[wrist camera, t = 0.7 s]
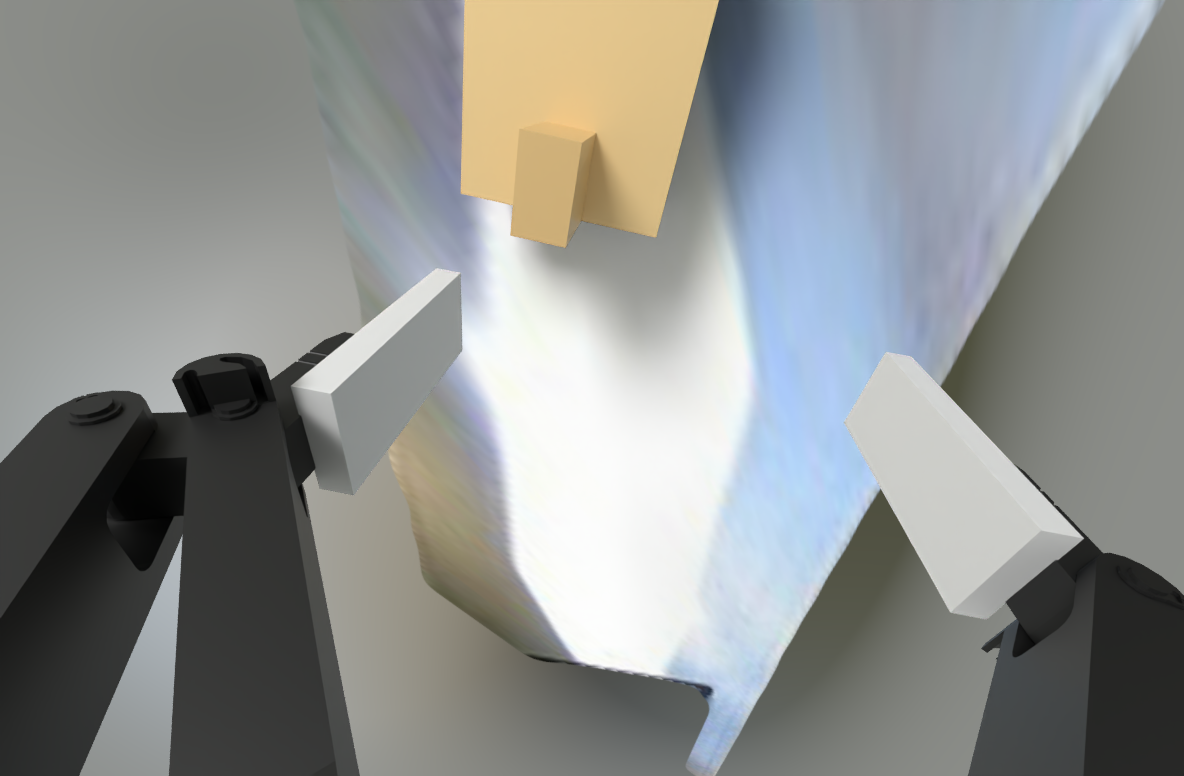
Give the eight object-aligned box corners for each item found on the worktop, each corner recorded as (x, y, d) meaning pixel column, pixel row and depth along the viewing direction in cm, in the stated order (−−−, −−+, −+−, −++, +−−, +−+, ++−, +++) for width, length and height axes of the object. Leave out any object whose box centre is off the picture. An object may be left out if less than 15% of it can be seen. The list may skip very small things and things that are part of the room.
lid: (484, -264, 20) (401, -437, 13) (768, -199, 20) (823, -339, 13) (470, 188, 30) (420, 214, 24) (655, 230, 30) (655, 268, 24)
